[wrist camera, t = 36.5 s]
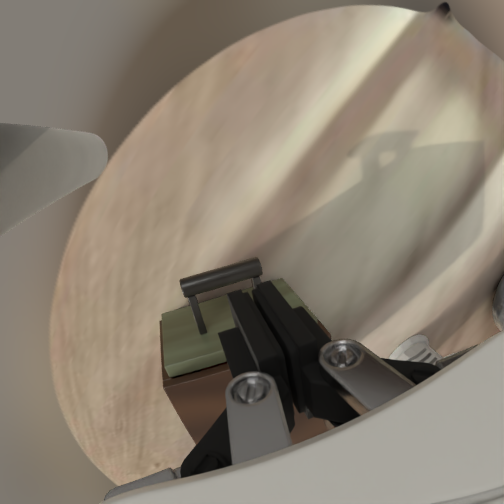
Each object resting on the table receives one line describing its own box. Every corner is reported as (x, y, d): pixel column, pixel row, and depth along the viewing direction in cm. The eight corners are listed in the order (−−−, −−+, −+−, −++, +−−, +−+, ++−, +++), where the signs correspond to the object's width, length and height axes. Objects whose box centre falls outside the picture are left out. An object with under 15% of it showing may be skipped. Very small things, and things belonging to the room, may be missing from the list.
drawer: (144, 266, 26) (139, 311, 19) (273, 229, 28) (311, 259, 21) (201, 406, 33) (214, 458, 26) (297, 375, 35) (325, 420, 28)
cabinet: (159, 320, 29) (162, 388, 21) (286, 282, 32) (330, 333, 23) (201, 413, 35) (216, 475, 26) (301, 381, 37) (334, 435, 29)
